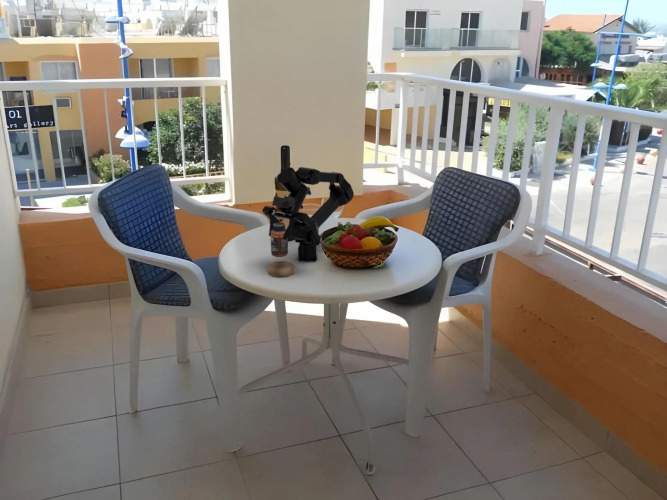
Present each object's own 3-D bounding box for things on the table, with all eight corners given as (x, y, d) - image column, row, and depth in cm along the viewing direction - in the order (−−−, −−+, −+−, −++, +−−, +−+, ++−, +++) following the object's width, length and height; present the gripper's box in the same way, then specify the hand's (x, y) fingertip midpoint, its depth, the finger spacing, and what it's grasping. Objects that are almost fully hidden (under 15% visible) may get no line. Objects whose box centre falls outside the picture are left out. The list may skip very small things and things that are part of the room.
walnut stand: (295, 267, 207) (295, 261, 206) (292, 277, 199) (292, 271, 198) (271, 267, 208) (270, 260, 207) (266, 277, 200) (266, 270, 199)
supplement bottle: (290, 252, 203) (290, 222, 199) (284, 259, 198) (283, 227, 194) (275, 250, 205) (274, 220, 201) (268, 256, 200) (267, 225, 196)
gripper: (263, 183, 201) (244, 221, 197) (306, 190, 191) (286, 231, 187) (279, 199, 210) (260, 236, 205) (320, 207, 200) (302, 247, 195)
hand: (276, 237), depth 198 cm, fingers closed on supplement bottle, 6 cm apart
